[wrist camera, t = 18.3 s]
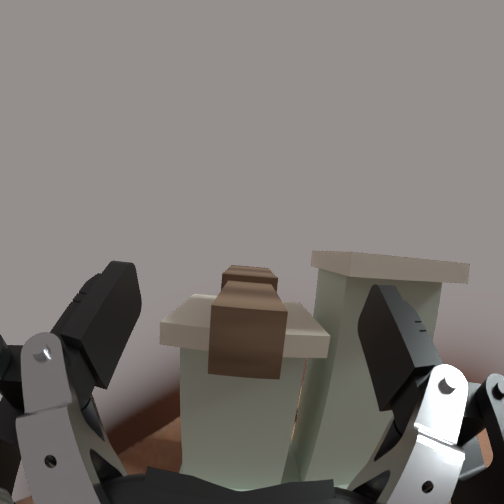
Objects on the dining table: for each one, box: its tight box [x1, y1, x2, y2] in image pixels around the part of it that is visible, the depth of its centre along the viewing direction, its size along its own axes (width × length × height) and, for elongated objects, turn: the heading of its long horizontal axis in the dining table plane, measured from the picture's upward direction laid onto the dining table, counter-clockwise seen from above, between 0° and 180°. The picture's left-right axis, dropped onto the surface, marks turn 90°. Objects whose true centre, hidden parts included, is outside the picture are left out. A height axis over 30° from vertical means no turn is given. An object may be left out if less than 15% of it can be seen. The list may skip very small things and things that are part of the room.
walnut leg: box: [208, 265, 288, 380], centre depth 23 cm, size 22×4×4 cm, turn 0°
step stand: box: [160, 251, 470, 491], centre depth 29 cm, size 15×29×32 cm, turn 90°
